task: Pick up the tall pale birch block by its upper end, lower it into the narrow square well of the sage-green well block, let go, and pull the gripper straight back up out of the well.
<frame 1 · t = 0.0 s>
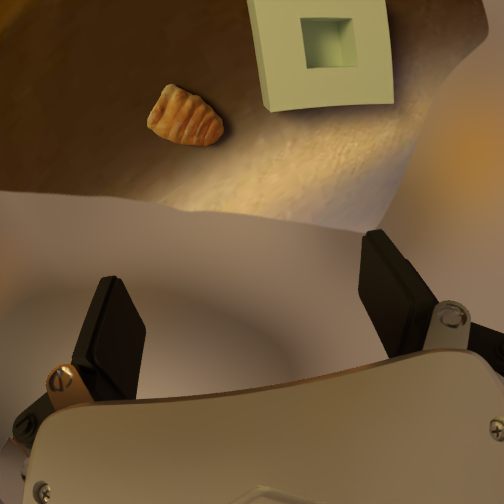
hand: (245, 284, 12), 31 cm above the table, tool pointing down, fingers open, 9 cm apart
pastry: (184, 114, 37), on the table
well block: (314, 44, 32), on the table
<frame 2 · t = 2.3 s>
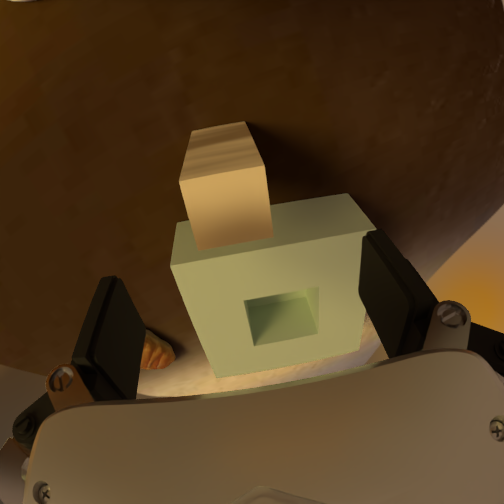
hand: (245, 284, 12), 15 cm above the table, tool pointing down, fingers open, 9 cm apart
pastry: (133, 336, 35), on the table
well block: (272, 273, 31), on the table
birch block: (222, 150, 23), on the table
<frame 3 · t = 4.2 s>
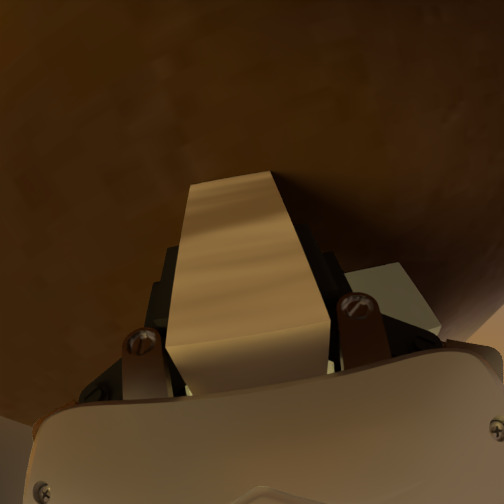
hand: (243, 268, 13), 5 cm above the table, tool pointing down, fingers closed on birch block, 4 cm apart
well block: (296, 354, 24), on the table
birch block: (236, 212, 17), on the table, touching gripper
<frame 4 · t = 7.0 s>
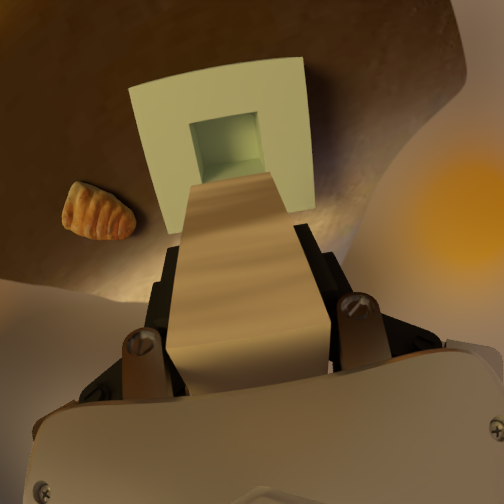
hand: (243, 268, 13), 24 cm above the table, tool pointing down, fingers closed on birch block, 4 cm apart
pastry: (98, 207, 35), on the table
well block: (226, 133, 32), on the table
birch block: (236, 213, 17), point 19 cm above the table, touching gripper
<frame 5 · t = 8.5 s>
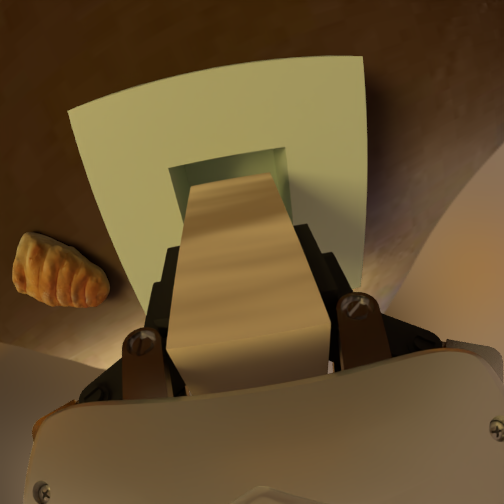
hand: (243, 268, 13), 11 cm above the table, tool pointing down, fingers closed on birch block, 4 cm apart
pastry: (60, 262, 25), on the table
well block: (231, 171, 22), on the table
birch block: (236, 213, 17), point 7 cm above the table, touching gripper
when the fingers open (7 cm above the table, at t = 9.7 s): birch block drops 1 cm, resting on well block.
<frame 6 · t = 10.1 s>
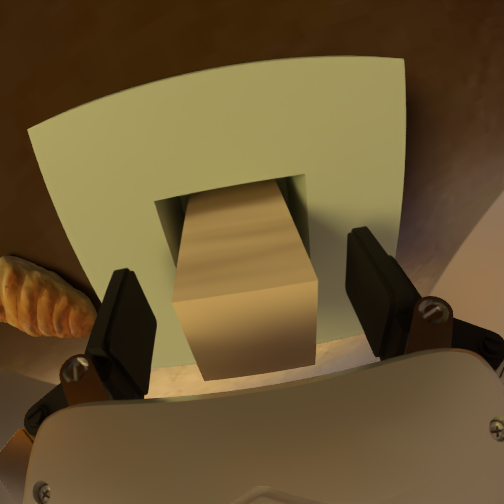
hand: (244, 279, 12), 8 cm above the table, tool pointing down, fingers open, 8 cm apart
pastry: (42, 287, 22), on the table
well block: (234, 193, 19), on the table
birch block: (235, 200, 18), point 1 cm above the table, touching well block
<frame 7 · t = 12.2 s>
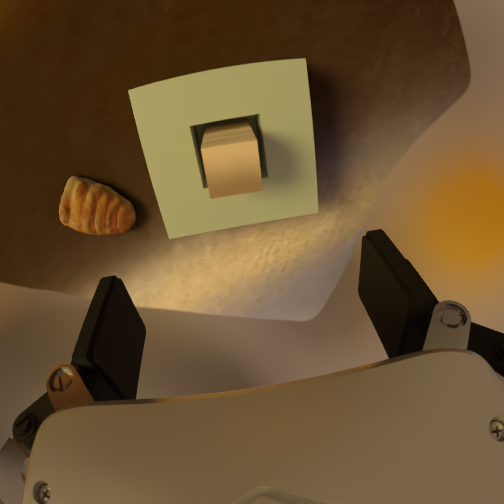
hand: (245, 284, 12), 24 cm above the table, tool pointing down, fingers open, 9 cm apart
pastry: (97, 201, 34), on the table
well block: (228, 136, 32), on the table
birch block: (228, 138, 31), point 1 cm above the table, touching well block
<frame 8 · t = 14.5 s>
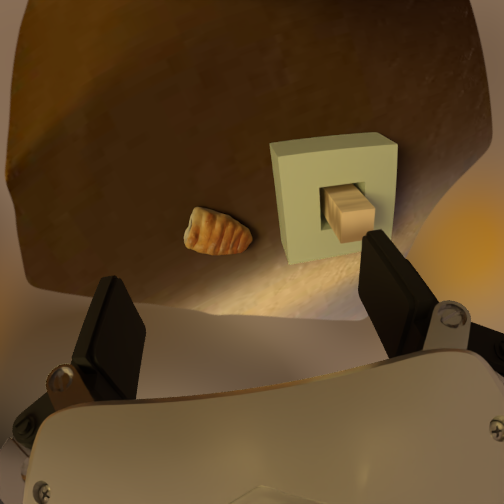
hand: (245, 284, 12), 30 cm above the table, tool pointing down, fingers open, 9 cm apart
pastry: (214, 227, 45), on the table
well block: (328, 187, 43), on the table
birch block: (330, 190, 42), point 1 cm above the table, touching well block
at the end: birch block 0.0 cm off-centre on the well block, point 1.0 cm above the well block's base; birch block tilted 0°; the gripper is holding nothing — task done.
